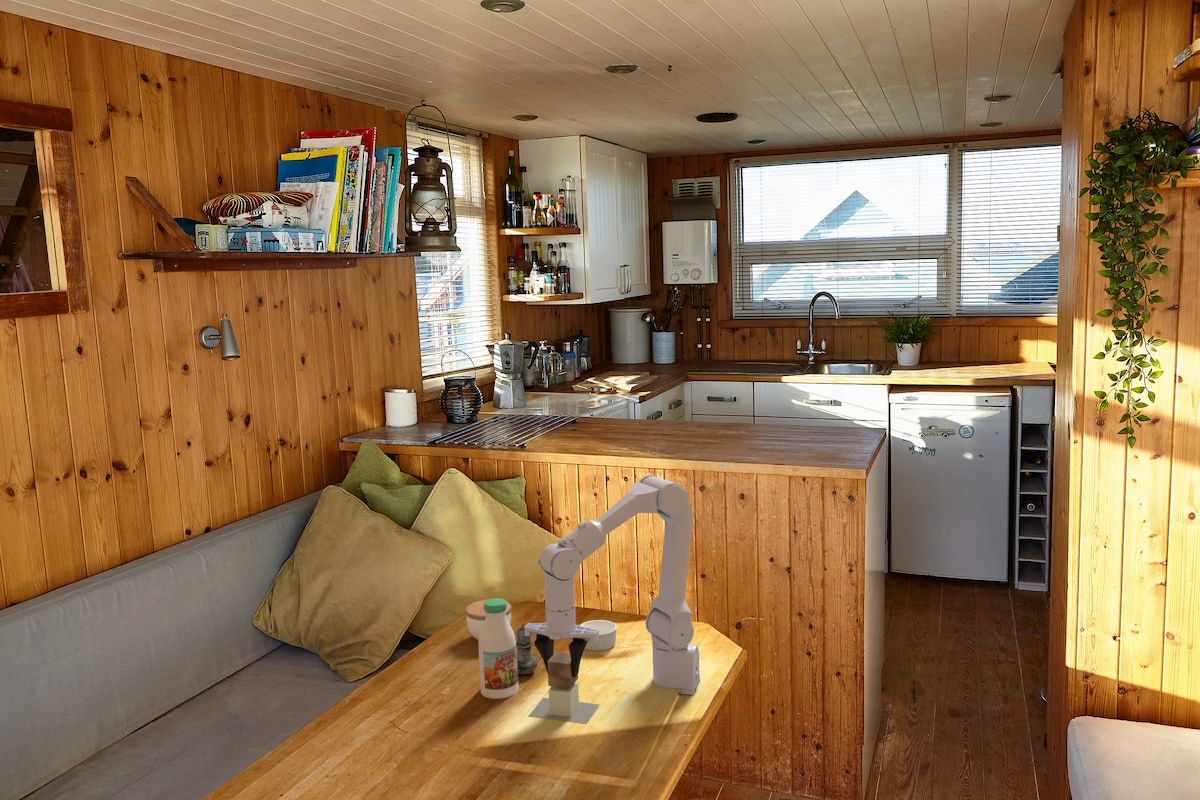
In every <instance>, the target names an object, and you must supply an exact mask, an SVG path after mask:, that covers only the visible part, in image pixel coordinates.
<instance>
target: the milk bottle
mask: <svg viewBox="0 0 1200 800" xmlns="http://www.w3.org/2000/svg"><path fill="white" fill-rule="evenodd" d="M489 599H490V600H489ZM489 599H486V600H487V601H485V603H484V610H485V611H484V613H485V614H486V618H485V622H484V625H483V628H482V630H481V633H480V637H479V642H478V662H479V663H478V664H479V666H478V667H479V668H478V669H479V682H480V694H481V695H482V696H483V697H485V698H488V699H491V700H492V699H493V700H494V699H498V700H500V699H506V698H509V697H512V696H514V695H515V694H517V692H518V691H519V674H518V670H517V647H516V643H517V639H516V636H515V633H514V630H513V628H512V626H511V623H510V624H509V622H508V620H507V617H506V612H507V603H506V602H507V600H505V599H503V598H489Z"/></svg>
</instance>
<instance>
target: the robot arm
mask: <svg viewBox="0 0 1200 800" xmlns="http://www.w3.org/2000/svg"><path fill="white" fill-rule="evenodd" d="M689 497H690V493H689V492H688V491H687V490H686V489H685V487H683V486H682V485H681V484H680V483H677V482H673V481H670V480H667V479H664V478H661V477H658V476H656V475H655V474H647V475H644V476H643V477H642V478H640V480H639V481H636V482H634V483H633V484H632V486H631V487H630V489H629V491H628V492H627V493H626V494H625V495H624V496H623V497H621V498H620V499H619V500H618V501H617V502H616V503H615V504H614V505H612V506H611V507H610V508H608V510H607V511H606V512H604V513H603V514H602V515H601V516H600V517H598V519H596V520H591V519H590V520H589V519H588V520H585V521H583V520H582V521H580V522H579V523H577V527H576V528H575V529H573V530H572V531H571V532H569V534H567V535H566V536H565V537H560V538H559V539H558V542H557V543H556V542H555V543H550V544H548V545H546V546H545V547H544V548H543V550H542V551H541V553H540V556H539V558H538V559H537V563H538V566H539V567H540V569H541V570H542V571H543V576H544V603H545V605H544V607H545V608H544V609H545V622H538V623H537V622H536V623H535V622H534V623H533V622H528V623H527V624H526V625H525V626H524V627H525V636H530V637H531V636H536V638H535V640H534V643H533V644H534V646H535V648H536V650H538V653H539V654H540V656H541V658H542V661H543V663H544V666H545V670H546V674H547V675H548V663H547V661H548V660H549V659H550V658H551V657H552V656H553V654H554V653H555V650H554V649H555V648H554V647H555V646H554V645H555V640H561V639H567V640H572V641H571V642H570V643H569V644H568V651H569V653H570V656H571V673H572V677H576V676H577V674H578V675H579V673H580V666H581V665H580V664H581V660H582V658H583V654H584V651H585V646H586V644H587V642H588V641H590V642H591V643H596V642H597V641H598V639H599V636H598V630H595V629H590V628H586V627H583V626H580V625H579V624H577V623H576V620H577V619H576V600H575V599H576V598H575V597H576V596H575V593H576V592H575V576H576V575H577V573H578V571H579V568H580V565H581V564H582V563H583V561H584V560H586V559H587V558H589V557H590V556H591V555H592V554H594V553H595V552H596V551H597V550H599V549H601V548H602V547H603V546H604V545H605V544H606V540H607V537H608V536H607V535H608V534H610V533H611V532H613V531H614V530H615V529H617V528H619V527H620V526H621V525H623V524H624V523H626V522H627V521H628V520H630V519H632V518H634V516H636V515H638V514H658V515H659V517H660V518H662V520H663V521H664V523H665V524H664V535H663V545H662V553H661V554H662V556H661V564H660V565H661V567H660V574H659V575H660V576H659V584H658V585H659V587H658V596H656V598H654V599H653V600H652V601H651V602H650V608H649V611H648V614H647V615H646V618H645V628H646V631H647V632H648V633H649V634H650V636H651V640H652V641H651V642H652V675H653V676H652V680H653V681H652V682H653V683H654V684H655V685H657V686H659V687H661V688H667V689H668V688H669V689H672V688H673V689H676V688H677V689H680V690H679V692H678V694H680V695H689V696H690V695H694V693H695V691H696V688H697V686H698V684H699V681H700V680H701V676H700V650H699V646H697V645H694V644H691V642H692V641H693V637H694V636H695V635H694V634H695V627H694V625H693V622H692V616H693V613H692V611H691V609H690V607H689V605H688V603H687V602H686V593H687V582H688V570H689V561H690V560H689V559H690V551H691V541H692V532H693V531H692V530H693V521H694V520H693V519H694V515H693V510H692V509H691V505H690V501H689V499H690V498H689Z"/></svg>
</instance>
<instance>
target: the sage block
mask: <svg viewBox="0 0 1200 800" xmlns="http://www.w3.org/2000/svg"><path fill="white" fill-rule="evenodd" d="M579 695H580V694H579V682H577V681H576V682H575V683H574V684H573V686H572V687H571V688H561V687H553V686H550V687H549V689H548V698H549V714H551V715H559V716H567V717H572V715H573V714H574V713H575V711H576V710H577V708H578V707H579V702H580V700H579V698H580V697H579Z"/></svg>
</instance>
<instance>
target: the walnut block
mask: <svg viewBox="0 0 1200 800" xmlns="http://www.w3.org/2000/svg"><path fill="white" fill-rule="evenodd" d="M547 663H548V674H547V680H548V682H547V683H548V687H551V686H553V687H561V688H571V687H572V686H573V684H574V683H575V682H577V681H578V679H579V673H578V674H577V676H576V677H572V673H571V656H570V652H569V653H567V652H559V651H554V654H553V656H552V657H551V658H550V659H549V660H548V661H547Z"/></svg>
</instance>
